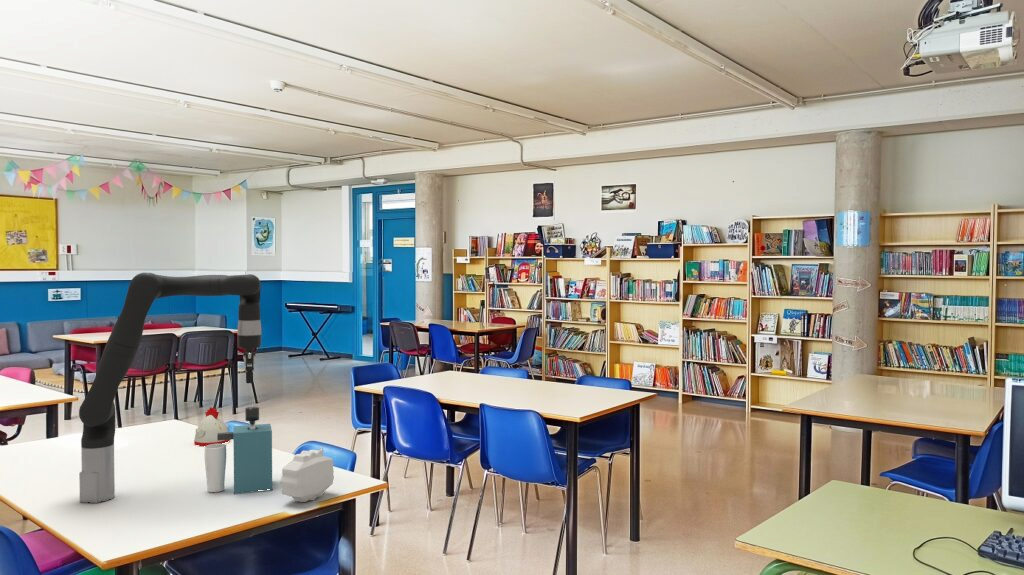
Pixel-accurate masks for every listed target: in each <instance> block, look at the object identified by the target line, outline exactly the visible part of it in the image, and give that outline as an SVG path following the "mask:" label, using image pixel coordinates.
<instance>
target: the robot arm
mask: <svg viewBox="0 0 1024 575" xmlns="http://www.w3.org/2000/svg"><path fill="white" fill-rule="evenodd" d="M261 285H262V284H261V280H260V278H259V277H258V276H256V275H254V274H233V275H226V274H207V275H206V274H203V275H193V276H192V275H191V276H169V275H168V276H167V275H161V274H155V273H152V272H141V273H138V274H136V275H135V276H133V277H132V279H131V281H130V282H129V285H128V289H127V291H126V292H127V293H126V297H125V300H124V304H123V306H122V310H121V312H120V314H119V316H118V318H117V320H116V322H115V324H114V326H113V328H112V330H111V333H110V335H109V337H108V339H107V342H106V344H105V346H104V349H103V352H102V355H101V357H100V359H99V360H100V361H99V364H98V366H97V371H96V373H95V377H94V379H93V382H92V384H91V387H90V388H89V390H88V392H87V393H86V396H85V398H84V400H83V401H82V403H81V405H80V406H79V410H78V416H79V418H80V421H81V422H82V423H83V427H82V429H83V430H82V436H81V440H80V444H81V446H80V447H81V449H80V450H81V457H80V458H81V471H80V472H79V503H88V502H90V504H91V503H92V504H98V503H101V501H102V502H105V501H109V499H110V500H112V499H114V498H116V497H115V496H116V492H115V491H116V489H115V486H116V485H115V481H116V480H115V434H116V405H115V402H114V400H115V398H116V394H117V392H118V389H119V386H120V385H121V383H122V381H123V380H124V378H125V377H126V375H127V373H128V372H129V370H130V368H131V366H132V364H133V362H134V360H135V358H136V355H137V353H138V350H139V348H140V345H141V342H142V337H143V332H144V328H145V321H146V318H147V316H148V313H149V311H150V308H151V307H152V305H153V303H154V301H155V300H157V299H161V298H168V297H176V296H194V297H196V296H197V297H220V296H221V297H222V296H223V297H224V296H239V305H238V311H237V312H238V314H237V315H238V321H237V348H239V349H245V350H244V351H245V352H243V356H242V358H243V366H244V367H245V370H244V371H245V383H246V384H253V383H254V371H255V368H254V367H255V366H256V357H257V356H256V354H257V353H256V352H254V349H258V348H261V347H262V323H261V322H262V321H261V305H260V302H261V292H262V291H261V288H262V286H261Z"/></svg>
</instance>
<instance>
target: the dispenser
mask: <svg viewBox="0 0 1024 575" xmlns="http://www.w3.org/2000/svg"><path fill="white" fill-rule="evenodd" d="M218 440H230V441H231V440H233V494H234V493H239V494H243V493H242V492H250V493H252V492H251V491H258V490H267V489H272V490H273V429H272V426H271V423H261V424H255V429H250V424H245V425H233V430H232V431H228V432H225V433H218V434H217V441H218Z"/></svg>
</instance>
